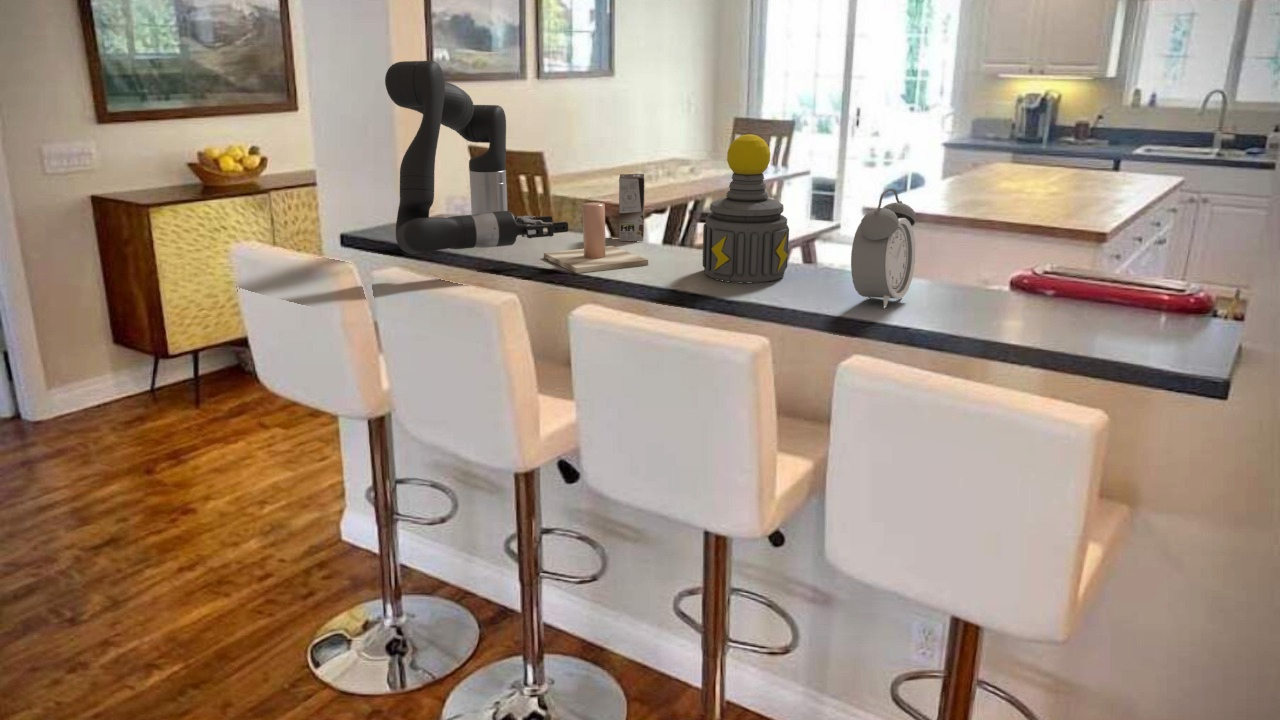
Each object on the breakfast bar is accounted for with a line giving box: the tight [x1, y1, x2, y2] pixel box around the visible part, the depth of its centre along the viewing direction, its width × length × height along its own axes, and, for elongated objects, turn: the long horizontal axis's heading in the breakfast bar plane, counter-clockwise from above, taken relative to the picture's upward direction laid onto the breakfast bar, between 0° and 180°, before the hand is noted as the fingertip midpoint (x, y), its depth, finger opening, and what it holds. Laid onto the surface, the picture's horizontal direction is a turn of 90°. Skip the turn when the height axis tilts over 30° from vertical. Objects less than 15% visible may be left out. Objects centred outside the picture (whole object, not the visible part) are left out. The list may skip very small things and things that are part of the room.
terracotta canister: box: [582, 202, 606, 259], centre depth 219 cm, size 5×5×12 cm
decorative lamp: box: [702, 133, 790, 284], centre depth 204 cm, size 19×19×30 cm
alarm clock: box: [850, 188, 917, 307], centre depth 184 cm, size 16×9×22 cm, turn 146°
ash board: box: [543, 245, 649, 274], centre depth 221 cm, size 18×18×1 cm
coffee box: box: [618, 173, 645, 242], centre depth 245 cm, size 9×6×16 cm
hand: (559, 223), depth 214 cm, fingers open, 8 cm apart
